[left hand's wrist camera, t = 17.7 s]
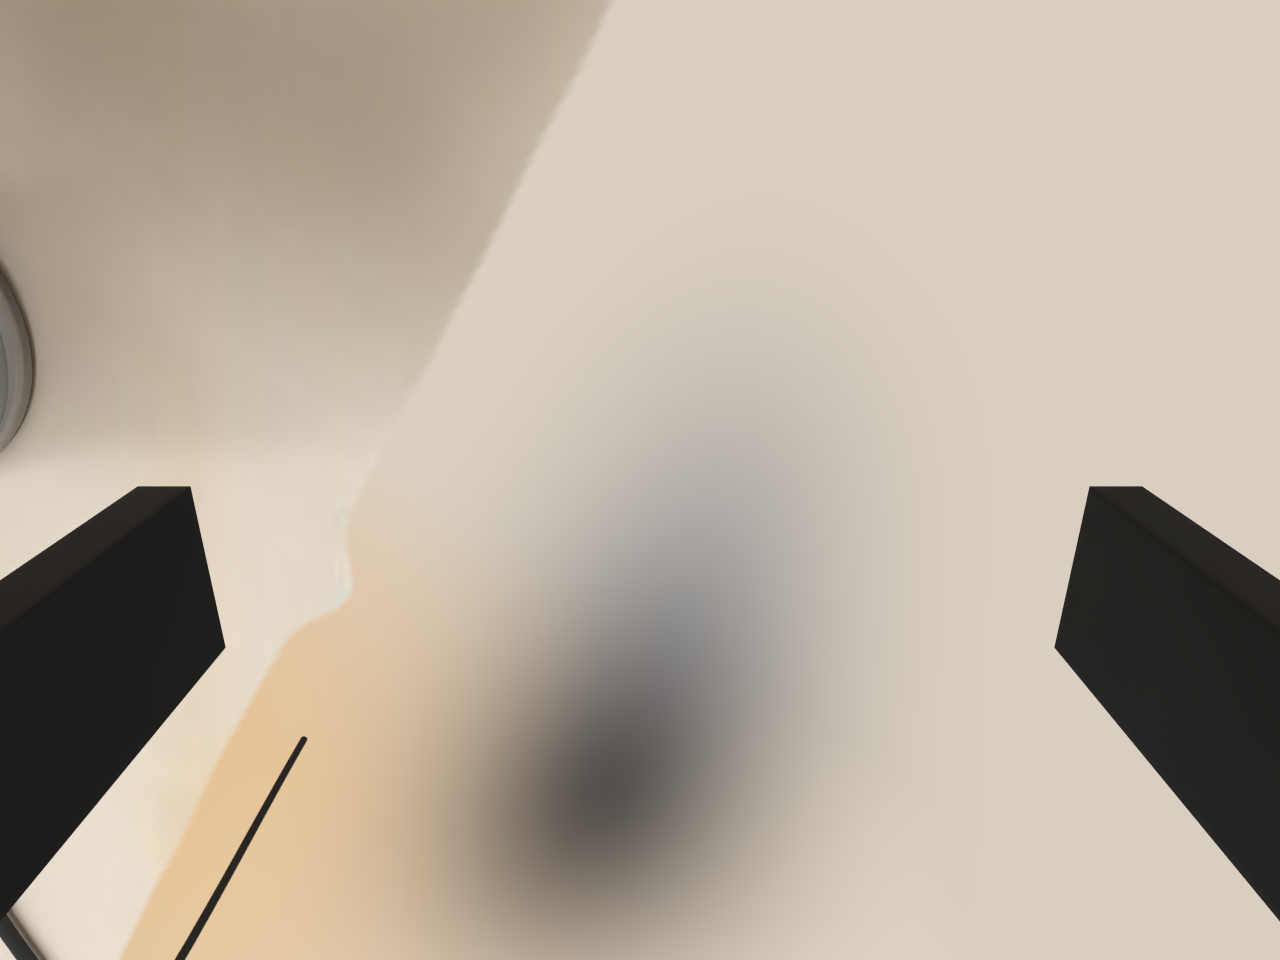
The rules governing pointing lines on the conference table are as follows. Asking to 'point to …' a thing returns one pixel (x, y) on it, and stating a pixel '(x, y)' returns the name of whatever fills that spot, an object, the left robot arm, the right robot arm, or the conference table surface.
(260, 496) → the conference table surface
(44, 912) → the conference table surface
